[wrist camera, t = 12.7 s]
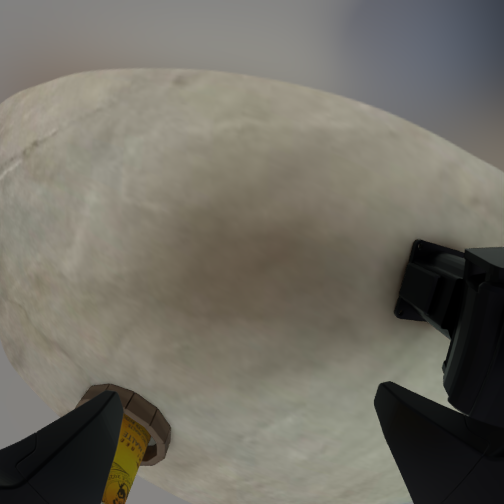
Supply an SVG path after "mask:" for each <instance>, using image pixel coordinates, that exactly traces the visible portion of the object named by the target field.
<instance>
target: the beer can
mask: <svg viewBox="0 0 504 504" xmlns="http://www.w3.org/2000/svg"><path fill="white" fill-rule="evenodd" d="M150 438H151V435H150V434H149V432H148V431H147V430H146V429H145V427H143V426H142V425H140V424H139V423H137V422H136V421H135V420H133V419H132V418H130V417H129V416H127V415H126V414H125V413H124V414H123V419H122V424H121V430H120V435H119V440H118V446H117V450H116V453H115V457H114V460H113V463H112V466H111V470H110V473H109V477H108V480H107V483H106V487H105V491H104V494H103V498H102V502H101V504H125V502H126V500H127V497H128V494H129V492H130V489H131V486H132V484H133V481H134V479H135V476H136V474H137V471H138V468H139V466H140V463H141V461H142V458H143V456H144V453H145V451H146V448H147V446H148V443H149V441H150Z"/></svg>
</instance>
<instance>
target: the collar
mask: <svg viewBox="0 0 504 504" xmlns="http://www.w3.org/2000/svg"><path fill="white" fill-rule="evenodd" d="M105 390H112V391H116V392H117V393H118V394H119V397H120V400H121V403H122V406H123V410H124V413H125V414H126V415H127V416H129V417H130V418H132V419H133V420H135V421H136V422H137V423H139V424H140V425H142V426H143V427H145V429H146V430H147V431H148V432H149V434H150V435H151V436H152V438H153V439H154V440H155V441H156V443H157V444H155V445H154V446H147V448H146V451H145V453H144V456H143V458H142V461H141V463H140V466H152V465H155V464H157V463H158V462H160V461H161V460H163V459H164V458H165V456H166V453H167V450H168V447H169V444H170V429H171V427H170V425H169V424H168V423H167V421H166V420H165V418H164V417H163V415H162V414H161V413H160V411H159V410H158V409H157V408H156V407H155V406H153V405H152V404H151V403H149V402H148V401H146V400H145V399H144V398H142V397H141V396H139V395H138V394H137V393H135V394H134V392H133V391H130V390H127V389H124V388H121V387H118V386H115V385H112V384H104V385H96V386H92V387H90V388H89V390H88V391H87V392H86V393H85V395H84V396H83V397H82V399H81V400H80V401H79V403H78V404H77V406H76V407H75V409H76V408H77V407H79V406H81V405H82V404H84V403H85V402H87V401H89V400H90V399H92V398H94V397H95V396H97V395H98V394H100V393H102V392H103V391H105Z"/></svg>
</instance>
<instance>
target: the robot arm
mask: <svg viewBox="0 0 504 504" xmlns="http://www.w3.org/2000/svg"><path fill="white" fill-rule="evenodd" d="M419 244H420V245H421V246H420V248H418V245H419ZM401 310H402V312H401V313H400V314H399V312H400V311H401ZM394 314H395V316H396V317H397V318H399V319H408V320H416V321H426V322H429V323H430V324H431V325H432V326H434V327H435V328H436V329H437V330H439V331H440V332H441V333H442V334H444V335H445V336H446V337H447V338H449V339H450V340H451V342H450V346H449V349H448V353H447V357H446V360H445V361H444V363H443V366H442V370H443V373H444V376H443V386H444V388H445V390H446V392H447V394H448V396H449V397H448V402H449V403H450V404H451V405H452V406H453V407H454V408H455V409H457V410H458V411H460V412H462V413H463V414H465V415H463V414H461V413H459V412H457V411H454V410H452V409H450V408H447V407H445V406H443V405H441V404H438V403H436V402H434V401H432V400H430V399H427V398H425V397H423V396H421V395H419V394H416V393H414V392H412V391H410V390H408V389H406V388H404V387H402V386H400V385H397V384H395V383H393V382H391V381H388V382H383V383H380V384H379V386H378V389H377V393H376V396H375V399H374V406H375V409H376V412H377V415H378V418H379V422H380V425H381V428H382V431H383V434H384V437H385V439H386V442H387V444H388V446H389V448H390V450H391V453H392V455H393V457H394V459H395V461H396V464H397V466H398V468H399V470H400V473H401V475H402V477H403V480H404V482H405V484H406V486H407V489H408V491H409V493H410V496H411V498H412V501H413V503H414V504H504V247H491V248H469V249H465V253H463V252H460V251H456V250H453V249H450V248H447V247H443V246H440V245H437V244H433V243H430V242H426V241H423V240H416V241H415V242H414V244H413V248H412V252H411V256H410V260H409V264H408V265H407V268H406V272H405V275H404V279H403V282H402V286H401V289H400V292H399V298H398V301H397V304H396V307H395V310H394ZM123 414H124V410H123V406H122V403H121V400H120V397H119V394H118V393H117V392H116V391H112V390H105V391H103V392H102V393H100V394H98V395H97V396H95V397H94V398H92V399H90V400H89V401H87V402H85V403H84V404H82V405H81V406H79V407H77V408H76V409H74V410H72V411H71V412H69V413H67V414H66V415H64V416H63V417H61V418H59V419H58V420H56V421H54V422H52V423H51V424H49V425H47V426H46V427H44V428H42V429H41V430H39V431H37V433H34V434H32V435H30V436H28V437H27V438H25V439H23V440H21V441H19V442H17V443H15V444H12V445H10V446H8V447H6V448H3V449H1V450H0V504H101V502H102V498H103V494H104V491H105V487H106V483H107V480H108V477H109V473H110V470H111V466H112V463H113V460H114V457H115V453H116V450H117V446H118V440H119V435H120V430H121V424H122V419H123ZM466 415H468V416H466Z"/></svg>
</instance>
